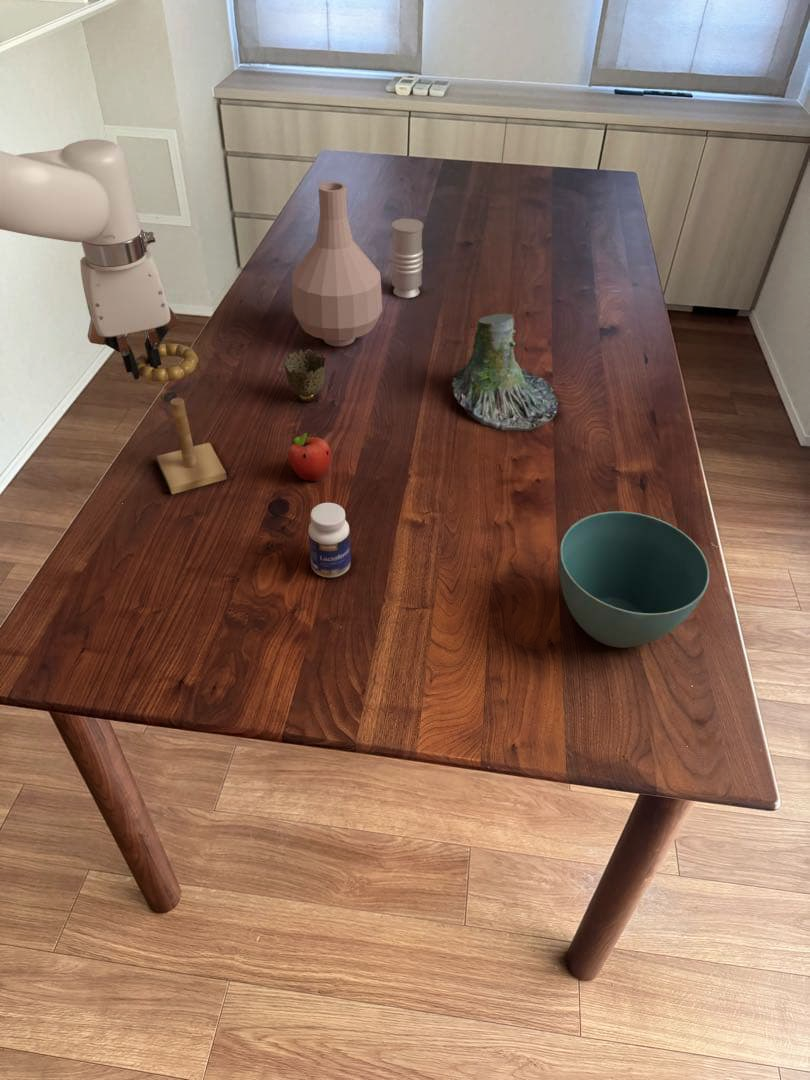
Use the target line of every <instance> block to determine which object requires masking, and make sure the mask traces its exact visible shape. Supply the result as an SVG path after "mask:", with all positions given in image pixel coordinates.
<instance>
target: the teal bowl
mask: <svg viewBox="0 0 810 1080" xmlns="http://www.w3.org/2000/svg"><path fill="white" fill-rule="evenodd" d="M558 555H559V556H558V572H559V582H560V588H561V591H562V594H563V597H564V600H565V601H564V602H565V603H566V606H567V608H568V610H569V612H570V613H571V616H572V618H573V619H574V620H575V622H576V623H577V624H578V625H579V626H580V628H581V629H582V630H583V631H584V632H585V633H586V634H588V636H590V637H591V638H592V639H594V640H595V641H597V642H598V643H600V644H603V645H605V646H609V647H613V648H619V649H621V648H622V649H625V648H626V649H627V648H635V647H640V646H644V645H647V644H648V645H649V644H650V643H653V642H656V641H658V640H660V639H661V638H663V637H665V636H667V635H668V634H670V633H672V631H674V630H675V629H677V628H678V627H679V626H680V625H681V624H682V623H684V622H685V620H686V619H687V618H688V617H689V616H690V615H691V614H692V613H693V612H694V610H695V609H696V607H697V606H698V604H699V603H700V601H701V600H702V598H703V596H704V594H705V593H706V590H707V588H708V586H709V582H710V568H709V564H708V561H707V558H706V556H705V554H704V553H703V551H702V550H701V548H700V547H699V546H698V545H697V543H696V542H695V541H694V540H693V539H691V537H689V535H687V534H686V533H685V532H683V531H682V530H681V529H679V528H677V527H676V526H674V525H672V524H671V523H669V522H667V521H664V520H662V519H660V518H657V517H654V516H650V515H647V514H643V513H639V512H633V511H623V510H622V511H618V510H617V511H615V510H613V511H605V512H604V511H603V512H598V513H593V514H590V515H587V516H586V517H583V518H581V519H579V520H578V521H576V522H575V523H574V524H572V525H571V526H570V527H569V528H568V530H567V531H566V532H565V533H564V535H563V537H562V540H561V543H560V548H559V554H558Z"/></svg>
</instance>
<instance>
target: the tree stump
mask: <svg viewBox="0 0 810 1080" xmlns="http://www.w3.org/2000/svg"><path fill="white" fill-rule="evenodd" d="M476 326H477V328H476V332H475V334H474V335H475V336H474V341H473V345H472V353H471V356H470V357H469V359H468V360H467V363H465V366H463V367H462V368H460V369H458V371H457V375H456V376H455V377H454V378H453V379H452V381H453V382H451V385H452V388H453V396H454V398H455V399H456V401H457V403H458V404H459V406H461V407H462V409H464V411H465V412H466V413H467V415H468V416H469V417H471V418H472V419H474V421H477V422H479V424H481V425H484V426H487V427H492V428H494V429H497V430H500V431H531V430H534V429H537V428H539V427H542V426H544V425H547V424H549V423H550V422H551V420H553V419H554V418H555V416H556V414H557V412H558V406H559V402H558V398H557V396H556V394H555V391H554V390H553V387H552V386H551V385H550V384H549V383H548V381H547V380H545V379H544V378H543V377H541V376H539V375H534V373H533V374H532V373H531V372H530V371H528V370H526V368H523V367H522V368H521V367H520V365H519V364H518V362H517V361H516V358H515V354H514V353H515V352H514V346H515V345H516V342H515V340H514V337H515V334H516V330H515V329H514V326H515V319H514V315H513V314H510V313H496V314H495V313H494V314H492V315H491V314H490V315H486V316H482V317H481V318H479V319H478V324H477V325H476Z"/></svg>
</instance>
